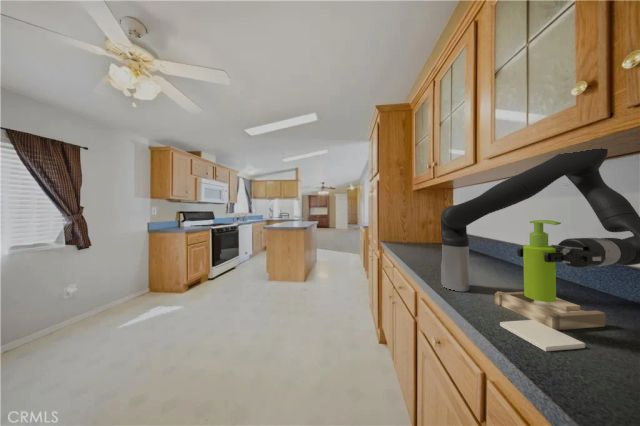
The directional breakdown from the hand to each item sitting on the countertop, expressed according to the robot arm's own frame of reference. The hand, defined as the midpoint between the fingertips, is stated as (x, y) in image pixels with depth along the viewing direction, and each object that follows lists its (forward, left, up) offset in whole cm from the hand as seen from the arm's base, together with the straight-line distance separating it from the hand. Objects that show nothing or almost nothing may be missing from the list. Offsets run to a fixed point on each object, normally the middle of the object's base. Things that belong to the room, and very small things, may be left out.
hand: (531, 255), depth 56 cm
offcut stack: (-8, +18, -20) cm, 28 cm away
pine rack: (-8, +14, -20) cm, 25 cm away
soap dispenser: (0, +3, -11) cm, 12 cm away
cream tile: (+2, 0, -20) cm, 20 cm away
